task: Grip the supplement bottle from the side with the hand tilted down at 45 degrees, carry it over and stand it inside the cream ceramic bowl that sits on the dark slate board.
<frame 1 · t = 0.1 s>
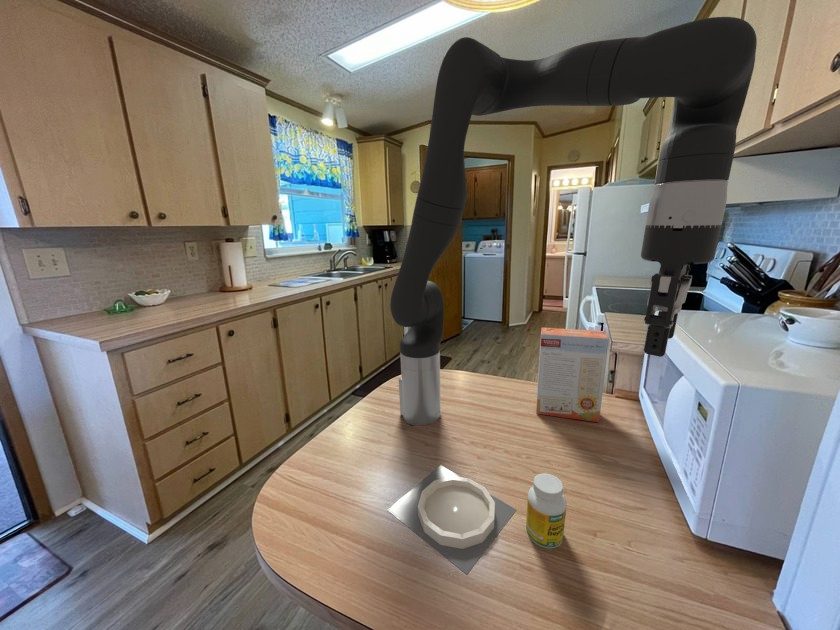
hand: (659, 345, 46), 29 cm above the counter, tool pointing down, fingers open, 8 cm apart
cracker box: (565, 413, 83), on the counter
bowl: (456, 513, 55), resting on slate board
slate board: (451, 512, 56), on the counter
supplement bottle: (543, 536, 52), on the counter
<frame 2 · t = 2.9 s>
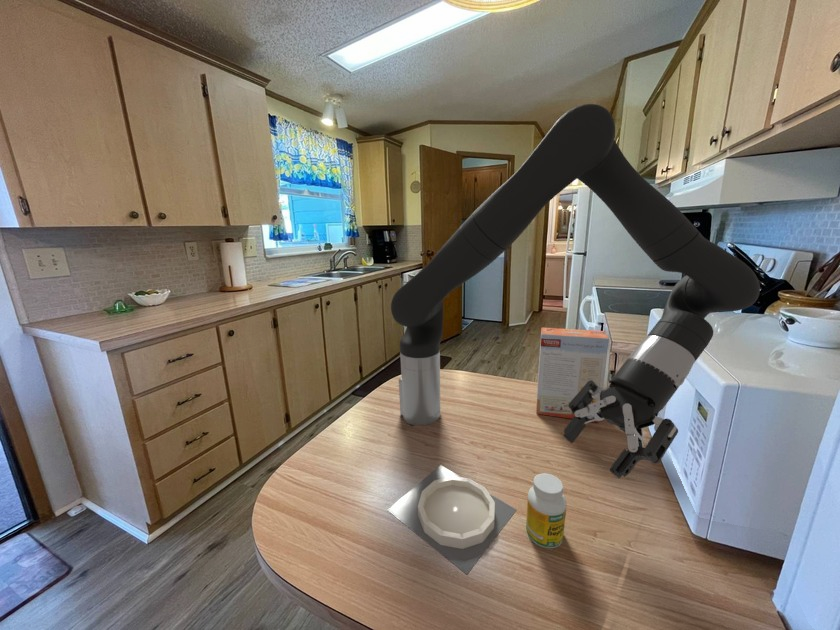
hand: (589, 456, 51), 12 cm above the counter, tool tilted 45°, fingers open, 8 cm apart
nothing on the counter moved.
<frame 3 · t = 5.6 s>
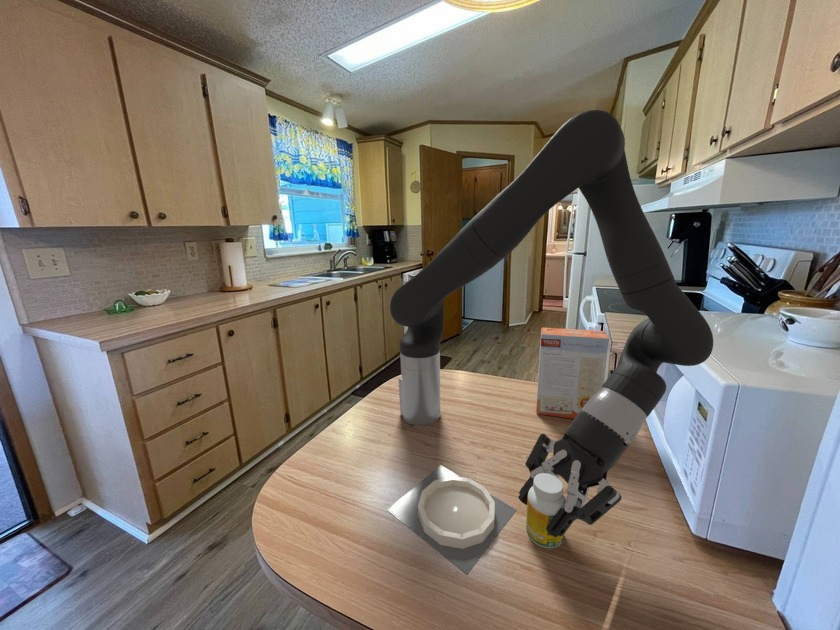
hand: (536, 516, 50), 4 cm above the counter, tool tilted 45°, fingers closed on supplement bottle, 5 cm apart
supplement bottle: (543, 535, 52), on the counter, touching gripper
everything else where it was.
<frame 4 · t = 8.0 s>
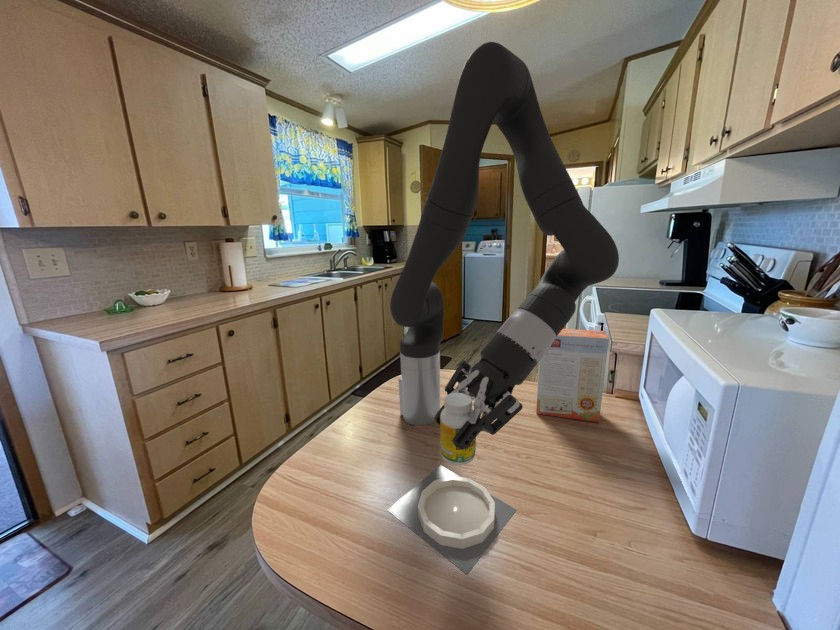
hand: (447, 433, 50), 16 cm above the counter, tool tilted 45°, fingers closed on supplement bottle, 5 cm apart
supplement bottle: (457, 455, 52), point 11 cm above the counter, touching gripper
everything else where it was.
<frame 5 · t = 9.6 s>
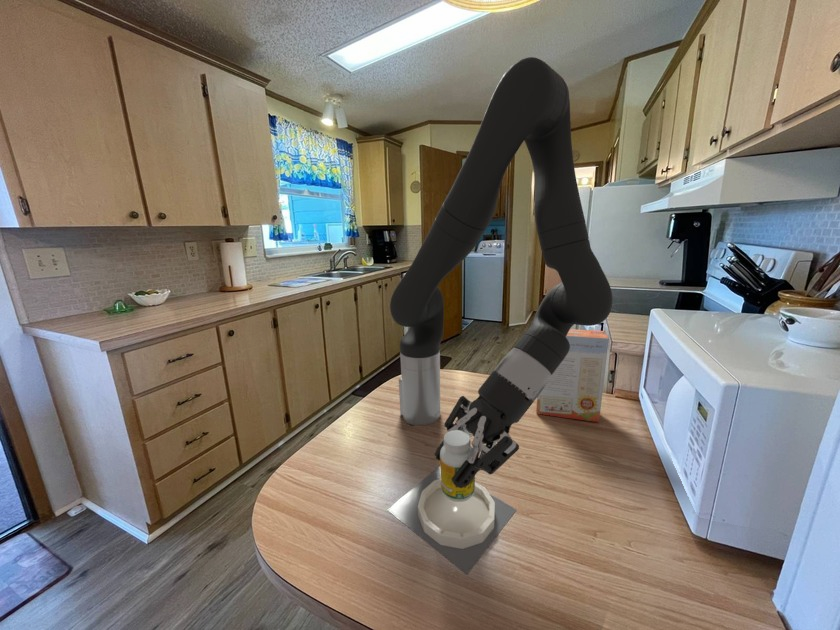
hand: (447, 471, 52), 9 cm above the counter, tool tilted 45°, fingers closed on supplement bottle, 5 cm apart
supplement bottle: (457, 491, 54), point 5 cm above the counter, touching gripper
everything else where it was.
when the fingers open (7 cm above the counter, at t = 10.8 s): supplement bottle drops 1 cm, resting on bowl.
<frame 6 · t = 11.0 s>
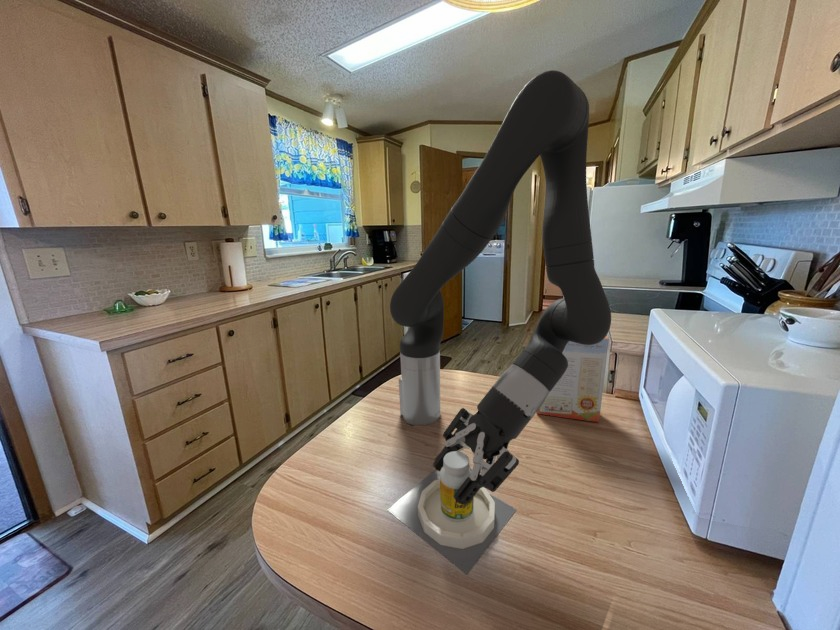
hand: (447, 484, 53), 7 cm above the counter, tool tilted 45°, fingers open, 6 cm apart
supplement bottle: (456, 510, 55), point 1 cm above the counter, touching bowl
everything else where it was.
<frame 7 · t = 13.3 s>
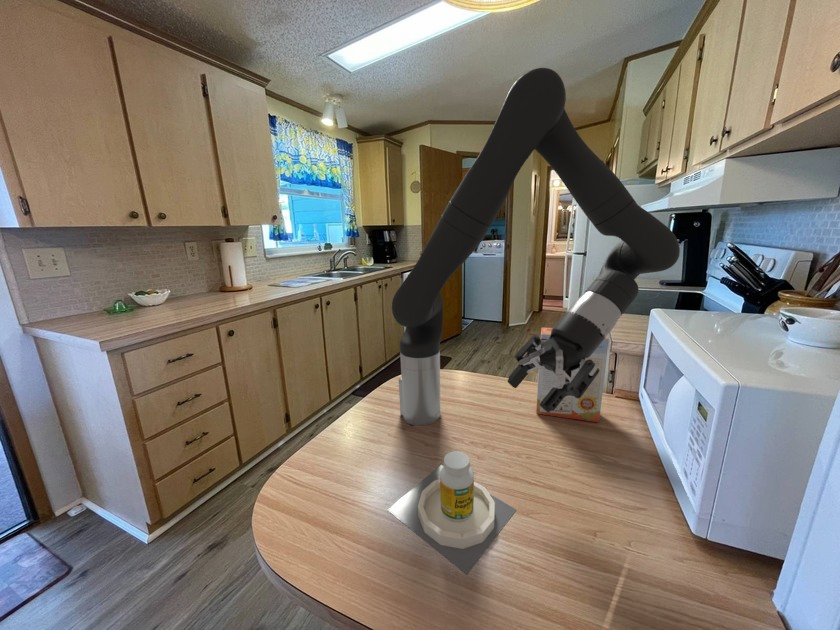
hand: (526, 396, 58), 17 cm above the counter, tool tilted 45°, fingers open, 8 cm apart
nothing on the counter moved.
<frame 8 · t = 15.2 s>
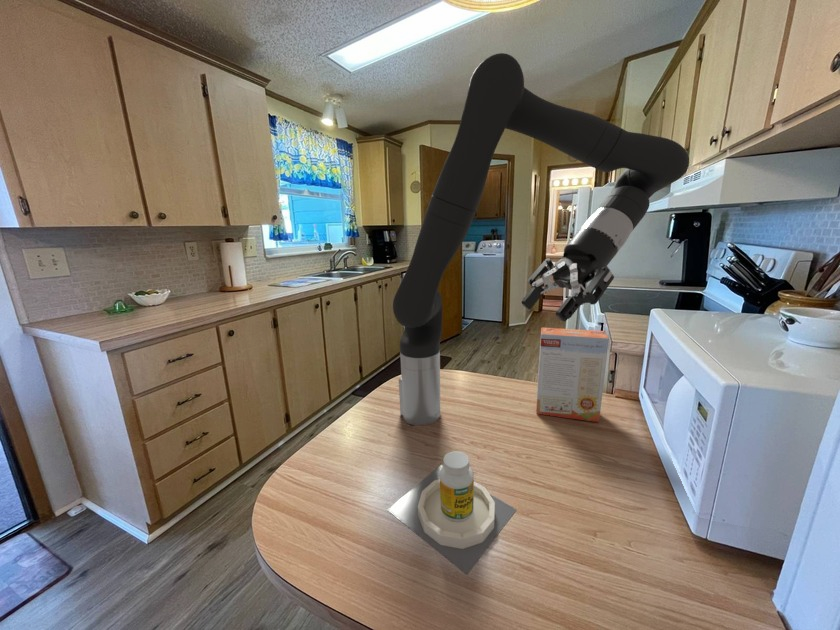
hand: (541, 312, 59), 31 cm above the counter, tool tilted 45°, fingers open, 8 cm apart
nothing on the counter moved.
at the end: supplement bottle inside the target area on the bowl (0.2 cm from its centre), point 0.4 cm above the bowl's base; supplement bottle tilted 0°; the gripper is holding nothing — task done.
